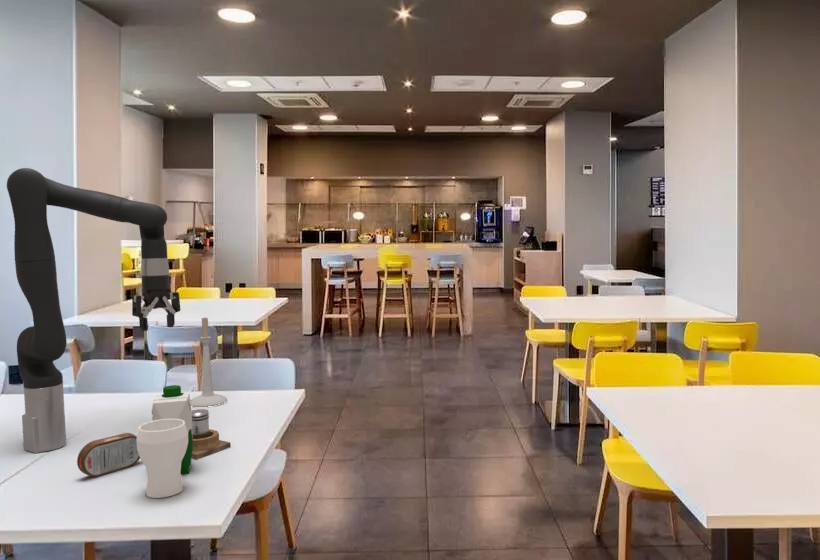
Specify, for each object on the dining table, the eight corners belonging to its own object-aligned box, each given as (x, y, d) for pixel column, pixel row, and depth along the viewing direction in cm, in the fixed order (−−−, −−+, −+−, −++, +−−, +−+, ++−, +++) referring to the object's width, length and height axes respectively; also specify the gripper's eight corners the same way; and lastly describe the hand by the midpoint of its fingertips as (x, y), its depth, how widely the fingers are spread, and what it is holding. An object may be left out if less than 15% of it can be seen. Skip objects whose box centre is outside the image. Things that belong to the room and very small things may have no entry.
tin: (139, 460, 156) (138, 428, 155) (145, 463, 154) (144, 430, 153) (77, 479, 144) (75, 444, 143) (83, 482, 142) (81, 447, 141)
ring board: (196, 459, 155) (195, 444, 155) (169, 452, 161) (168, 437, 161) (230, 446, 165) (230, 432, 164) (203, 440, 171) (203, 426, 170)
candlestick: (186, 400, 214) (183, 315, 212) (224, 396, 220) (221, 313, 218) (190, 409, 203) (186, 320, 201) (230, 404, 208) (226, 317, 206)
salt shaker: (197, 449, 159) (196, 415, 159) (185, 446, 162) (183, 412, 162) (214, 443, 164) (212, 410, 163) (201, 440, 167) (200, 408, 166)
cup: (196, 481, 141) (193, 417, 140) (181, 500, 131) (178, 431, 130) (150, 482, 141) (147, 418, 140) (130, 502, 130) (127, 433, 129)
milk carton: (195, 461, 154) (191, 383, 153) (192, 474, 145) (188, 392, 144) (157, 465, 152) (154, 386, 150) (152, 479, 143) (148, 395, 142)
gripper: (140, 275, 171) (143, 333, 172) (184, 272, 183) (186, 326, 184) (125, 275, 175) (127, 331, 176) (168, 272, 187) (170, 325, 188)
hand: (157, 328), depth 180 cm, fingers open, 8 cm apart
